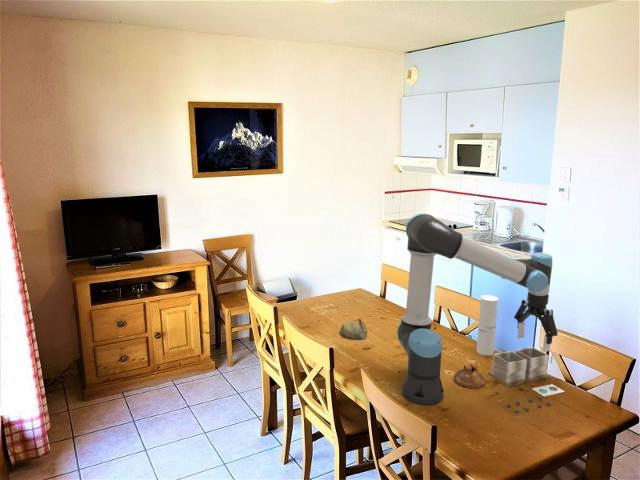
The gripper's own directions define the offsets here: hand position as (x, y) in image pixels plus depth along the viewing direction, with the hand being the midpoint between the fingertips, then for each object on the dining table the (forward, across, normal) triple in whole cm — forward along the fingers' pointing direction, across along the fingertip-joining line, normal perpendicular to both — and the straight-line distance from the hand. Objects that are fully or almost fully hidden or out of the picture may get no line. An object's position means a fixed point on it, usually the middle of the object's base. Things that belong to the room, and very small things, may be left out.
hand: (532, 344), depth 200 cm
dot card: (+13, -13, +4) cm, 19 cm away
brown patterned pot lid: (+13, +3, +27) cm, 30 cm away
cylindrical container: (+13, +23, +4) cm, 27 cm away
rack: (+13, 0, +6) cm, 14 cm away
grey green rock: (+13, +60, +50) cm, 79 cm away
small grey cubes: (+13, -19, +18) cm, 29 cm away
